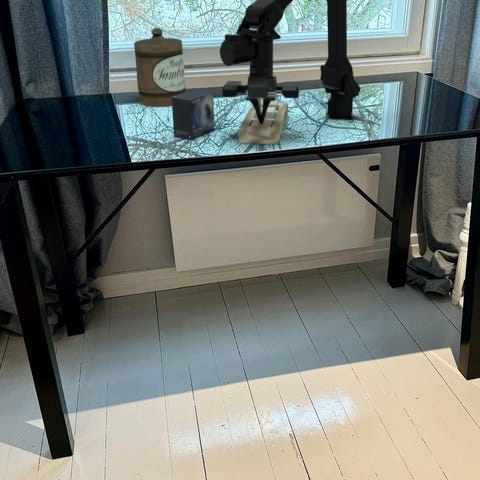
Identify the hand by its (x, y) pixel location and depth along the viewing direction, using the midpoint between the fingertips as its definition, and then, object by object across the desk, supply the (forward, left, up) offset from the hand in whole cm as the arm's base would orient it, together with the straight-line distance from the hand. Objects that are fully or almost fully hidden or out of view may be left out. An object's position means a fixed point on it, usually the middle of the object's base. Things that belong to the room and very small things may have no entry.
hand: (261, 123), depth 143 cm
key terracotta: (0, 0, -3) cm, 3 cm away
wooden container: (+36, -34, -4) cm, 49 cm away
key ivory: (0, -8, -1) cm, 8 cm away
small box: (+18, -2, -4) cm, 18 cm away
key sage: (0, -15, -1) cm, 15 cm away
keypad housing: (0, -8, -4) cm, 8 cm away
